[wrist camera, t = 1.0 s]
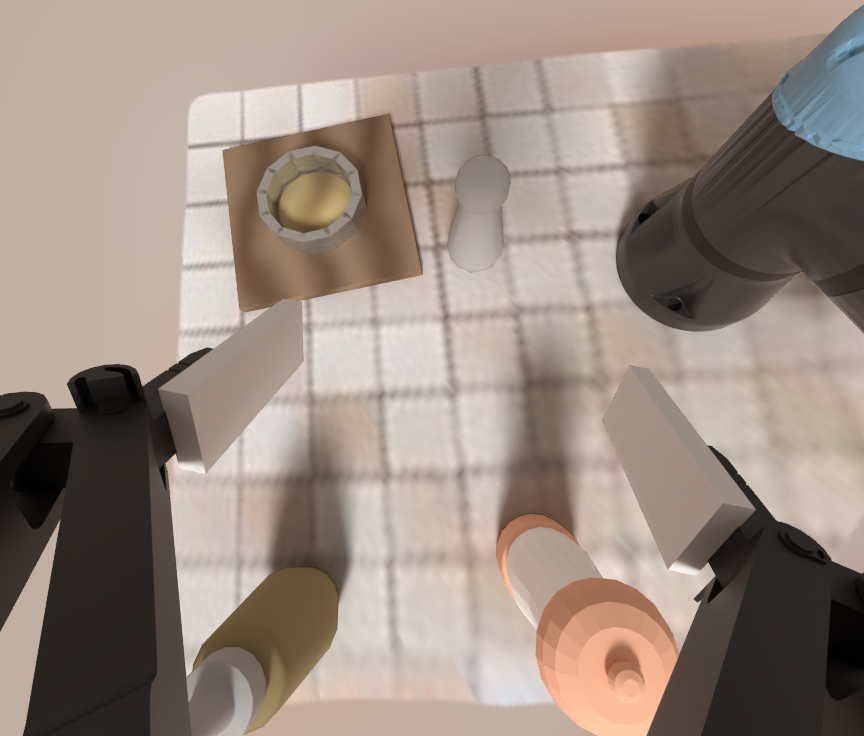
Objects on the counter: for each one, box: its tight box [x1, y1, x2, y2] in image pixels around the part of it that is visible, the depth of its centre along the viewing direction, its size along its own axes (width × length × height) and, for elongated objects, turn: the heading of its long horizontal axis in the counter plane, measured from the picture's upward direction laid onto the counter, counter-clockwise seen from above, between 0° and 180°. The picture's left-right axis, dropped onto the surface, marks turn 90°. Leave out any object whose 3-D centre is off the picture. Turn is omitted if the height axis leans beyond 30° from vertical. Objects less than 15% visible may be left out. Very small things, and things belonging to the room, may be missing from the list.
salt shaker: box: [447, 156, 510, 273], centre depth 35 cm, size 6×6×13 cm
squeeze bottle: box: [186, 567, 338, 736], centre depth 27 cm, size 8×8×18 cm
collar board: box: [223, 114, 422, 312], centre depth 41 cm, size 20×20×4 cm
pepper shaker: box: [496, 514, 679, 736], centre depth 26 cm, size 7×7×19 cm
